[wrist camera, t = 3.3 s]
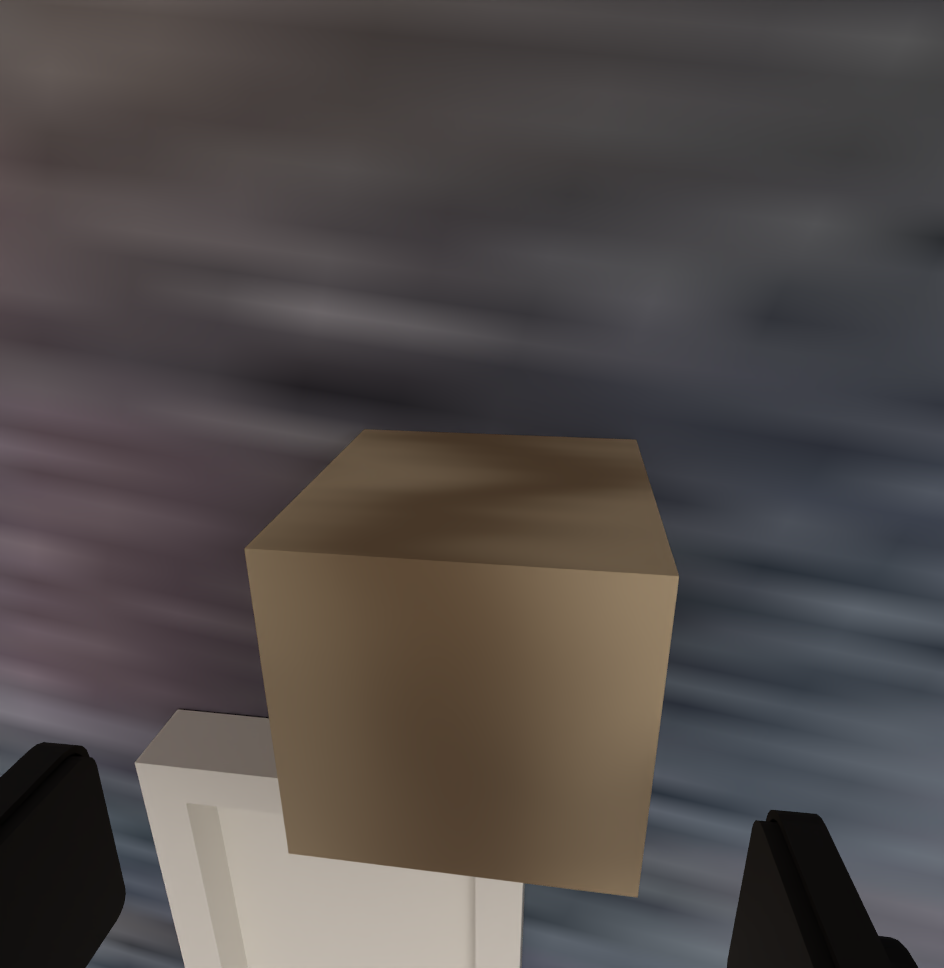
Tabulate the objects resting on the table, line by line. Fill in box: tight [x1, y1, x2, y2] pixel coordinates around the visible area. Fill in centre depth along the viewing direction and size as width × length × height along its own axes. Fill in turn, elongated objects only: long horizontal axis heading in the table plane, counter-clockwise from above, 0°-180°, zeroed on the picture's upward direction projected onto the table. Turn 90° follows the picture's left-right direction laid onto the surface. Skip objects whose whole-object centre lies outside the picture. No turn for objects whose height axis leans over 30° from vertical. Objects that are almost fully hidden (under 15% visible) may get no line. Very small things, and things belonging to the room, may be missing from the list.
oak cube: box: [244, 429, 679, 897], centre depth 13 cm, size 6×6×6 cm
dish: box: [135, 709, 525, 968], centre depth 19 cm, size 10×13×2 cm
